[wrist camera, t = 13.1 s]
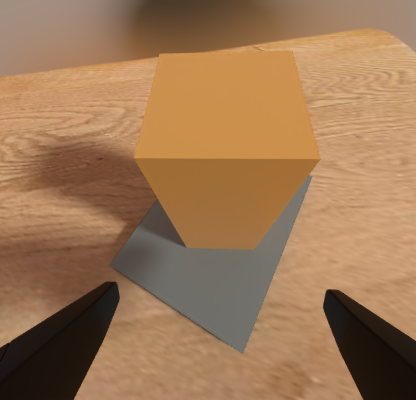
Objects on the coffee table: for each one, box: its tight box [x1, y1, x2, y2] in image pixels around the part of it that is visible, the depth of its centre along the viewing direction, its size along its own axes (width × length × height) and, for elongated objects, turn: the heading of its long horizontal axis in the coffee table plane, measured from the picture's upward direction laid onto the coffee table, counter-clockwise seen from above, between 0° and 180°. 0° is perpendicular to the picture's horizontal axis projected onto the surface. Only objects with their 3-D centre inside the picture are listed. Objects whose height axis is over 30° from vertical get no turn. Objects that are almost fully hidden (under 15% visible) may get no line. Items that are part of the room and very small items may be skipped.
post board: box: [110, 175, 312, 354], centre depth 17 cm, size 16×12×4 cm
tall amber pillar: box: [134, 51, 320, 250], centre depth 13 cm, size 6×6×12 cm
